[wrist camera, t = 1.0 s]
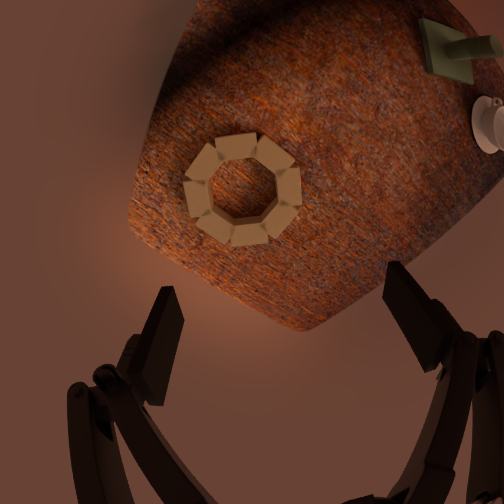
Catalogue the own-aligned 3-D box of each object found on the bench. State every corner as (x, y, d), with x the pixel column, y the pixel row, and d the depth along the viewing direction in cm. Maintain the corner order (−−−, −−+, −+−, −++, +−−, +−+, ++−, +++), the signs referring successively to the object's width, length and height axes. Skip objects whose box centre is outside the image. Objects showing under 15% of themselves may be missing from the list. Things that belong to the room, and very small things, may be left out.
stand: (417, 19, 21) (465, 2, 11) (459, 35, 20) (507, 27, 10) (427, 73, 25) (482, 69, 15) (468, 84, 25) (520, 88, 14)
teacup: (502, 154, 29) (519, 160, 25) (470, 151, 30) (489, 157, 26) (500, 100, 24) (518, 103, 20) (467, 91, 25) (486, 92, 21)
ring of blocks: (181, 143, 31) (175, 145, 28) (292, 128, 30) (296, 128, 28) (200, 242, 37) (197, 250, 35) (300, 230, 36) (303, 238, 34)
